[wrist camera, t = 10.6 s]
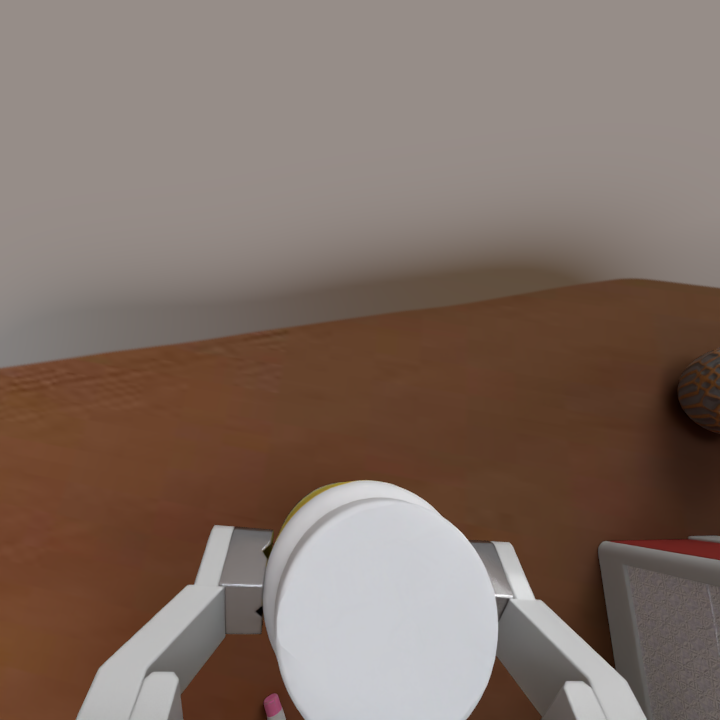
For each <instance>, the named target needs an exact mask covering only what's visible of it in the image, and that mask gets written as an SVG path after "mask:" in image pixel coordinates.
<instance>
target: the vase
mask: <svg viewBox="0 0 720 720" xmlns="http://www.w3.org/2000/svg"><path fill="white" fill-rule="evenodd" d="M678 399H679V402H680V405H681V407H682V409H683V410H684V412H685V413H686V414H687V415H688V416H689V417H690V418H691V419H692V420H693V421H694V422H695V423H697V424H698V425H700V426H701V427H703V428H705V429H707V430H709V431H711V432H715V433H718V434H720V348H717V349H714V350H712V351H710V352H707V353H705V354H703V355H701V356H700V357H698V358H697V359H695V360H694V361H693V362H692V363H690V364H689V365H688V367H687V368H686V369H685V370H684V371H683V373H682V375H681V377H680V380H679V383H678Z"/></svg>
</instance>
